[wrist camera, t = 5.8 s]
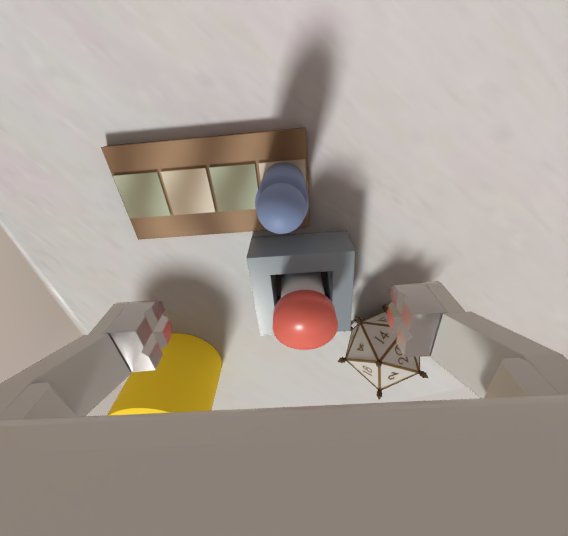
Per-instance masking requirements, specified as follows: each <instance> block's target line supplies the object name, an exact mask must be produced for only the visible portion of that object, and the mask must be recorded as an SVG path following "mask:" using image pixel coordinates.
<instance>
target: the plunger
mask: <svg viewBox="0 0 568 536" xmlns="http://www.w3.org/2000/svg"><path fill="white" fill-rule="evenodd" d="M337 329H338V321H337V317H336V312H335V308H334V305H333V303H332V302H331V300H330V299H329V298H328V297H327V296H325V294H324V288H323V283H322V278H321V273H320V272H308V273H293V274H282V280H281V299H280V300H279V301H278V302H277V303H276V305H275V307H274V312H273V332H274V335H275V336H276V338H277V339H278V340H279V341H280V342H281V343H283V344H284V345H286V346H288V347H290V348H294V349H300V350H309V349H315V348H318V347H321V346H323V345H325V344H326V343H328V342H329V341H330V340H331V339H332V338H333V337H334V336H335V334H336V332H337Z"/></svg>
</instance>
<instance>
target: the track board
mask: <svg viewBox="0 0 568 536" xmlns="http://www.w3.org/2000/svg"><path fill="white" fill-rule="evenodd" d="M101 149H102V151H103V154H104V156H105V158H106V161H107V163H108V166H109V168H110V171H111V173H112V176H113V178H114V181H115V183H116V186H117V188H118V191H119V193H120V196H121V198H122V201H123V203H124V206H125V208H126V210H127V213H128V215H129V218H130V220H131V223H132V225H133V228H134V230H135V233H136V235H137V238H138V239H152V238H166V237H179V236H193V235H207V234H221V233H235V232H249V231H262V230H267V229H266V228H265V227H264V226H263V225H262V224H261V222H260V221H259V219H258V216H257V212H256V209H255V198H256V194H257V192H258V189H259V186H260V184H261V181H262V178H263V176H264V174H265V172H266V171H267V169H268V168H269V167H271V166H272V165H274V164H276V163H280V162H287V163H291V164H293V165H295V166H297V167H298V168H299V169H300V170H301V172H302V173H303V175H304V178H305V183H306V189H307V195H308V176H307V149H306V128H296V129H285V130H274V131H263V132H252V133H241V134H230V135H220V136H209V137H198V138H187V139H176V140H165V141H154V142H143V143H132V144H121V145H110V146H104V147H101ZM304 227H309V206H308V211H307V214H306V216H305V218H304V220H303V222H302V223H301V225H300V226H299V227H298V228H304Z"/></svg>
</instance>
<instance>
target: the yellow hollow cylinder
mask: <svg viewBox="0 0 568 536" xmlns="http://www.w3.org/2000/svg"><path fill="white" fill-rule="evenodd" d="M161 351H162V353H163V356H162V358H161V360H160V362H159V364H158V366H157V368H156V370H152V371H140V372H131V374H130V376H129V378H128V379H127V381H126V383H125V385H124V386H123V388H122V390H121V392H120V394H119V395H118V397H117V399H116V401H115V402H114V404H113V406H112V408H111V410H110V411H109V413H108V415H128V414H150V413H172V412H193V411H211V409H212V405H213V401H214V397H215V393H216V389H217V385H218V381H219V376H220V372H221V368H222V360H221V357H220V355H219V353H218V352H217V350H216V349H215V348H214V347H213V346H212V345H210V344H209V343H207V342H206V341H204V340H202V339H200V338H198V337H195V336H192V335H188V334H181V333H171V338H170V341H169V343H168V345H167V346H165V347H164V348H163V349H161Z"/></svg>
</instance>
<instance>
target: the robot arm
mask: <svg viewBox="0 0 568 536" xmlns="http://www.w3.org/2000/svg"><path fill="white" fill-rule="evenodd" d="M390 297H391V299H392V302H391V303H390V304H389V305H388V310H387V315H388V322H389V326H390V328H391V331H392V332H393V333H395V334H396V335H397V341H396V342H397V344H398V346H399V348H400V350H401V352H402V354H403V357H418V356H431V358H432V359H433V360H434V361H435V362H437V363H438V364H439V365H440V366H442V367H443V368H444V369H445V370H447V371H448V372H449V373H450V374H452V375H453V376H454V377H455V378H456V379H458V380H459V381H460V382H461V383H463V384H464V385H465V386H466V387H468V388H469V389H470V390H471V391H472V392H474V393H475V394H476V395H477V396H479V397H480V399H457V400H436V401H435V400H434V401H413V402H390V403H369V404H347V405H325V406H303V407H281V408H259V409H237V410H215V411H193V412H172V413H150V414H128V415H107V416H86V415H87V414H88V413H89V412H90V411H91V410H92V409H93V408H95V407H96V406H97V405H98V404H99V403H100V402H101V401H102V400H103V399H104V398H105V397H106V396H107V395H108V394H110V393H111V392H112V391H113V390H114V389H115V388H116V387H117V386H118V385H119V384H120V383H121V382H123V381H124V380H125V379H126V378H127V377H128V376H129V375H130V374H131V372H140V371H152V370H156V368H157V366H158V364H159V362H160V360H161V358H162V356H163V353H162V351H161V349H163V348H164V347H165V346H167V345H168V343H169V341H170V338H171V332H172V329H171V323H170V321H169V319H168V318H167V317H166V316H164V315H163V313H164V310H165V309H164V306H163V304H162V302H160V301H138V302H120V303H116V304H114V305H113V306H112V307H111V308H110V310H109V311H108V312H107V313H106V314H105V315H104V317H103V318H102V319H101V320H100V321H99V323H98V324H97V325H96V326H95V327H94V329H93V330H92V331H91V332H90V333H89V334H88V335H83V336H82V337H80V338H78V339H77V340H75V341H73V342H71V343H69V344H68V345H66V346H64V347H63V348H61V349H59V350H58V351H56V352H54V353H52V354H50V355H49V356H47V357H45V358H44V359H42V360H40V361H39V362H37V363H35V364H33V365H31V366H30V367H28V368H26V369H25V370H23V371H21V372H20V373H18V374H16V375H14V376H13V377H11V378H9V379H7V380H6V381H4V382H2V383H1V384H0V536H568V360H567V359H566V358H565V357H564V356H563V355H562V354H560V353H558V352H555V351H553V350H551V349H549V348H547V347H545V346H543V345H541V344H538V343H536V342H534V341H532V340H530V339H528V338H526V337H524V336H521V335H519V334H517V333H515V332H513V331H511V330H509V329H507V328H504V327H502V326H500V325H498V324H496V323H494V322H492V321H490V320H487V319H485V318H483V317H481V316H479V315H477V314H475V313H473V312H465V310H464V309H463V308H462V307H461V306H460V305H459V303H458V302H457V301H456V300H455V299H454V297H453V296H452V295H451V294H450V293H449V292H448V290H447V289H446V288H445V287H444V286H443V285H442V283H440V282H438V281H434V282H424V283H417V284H403V285H392V287H391V289H390Z"/></svg>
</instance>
